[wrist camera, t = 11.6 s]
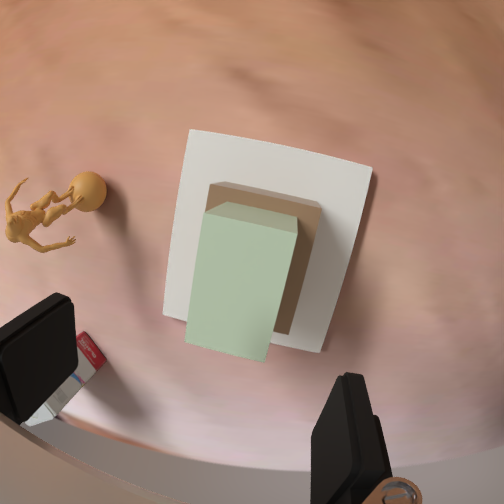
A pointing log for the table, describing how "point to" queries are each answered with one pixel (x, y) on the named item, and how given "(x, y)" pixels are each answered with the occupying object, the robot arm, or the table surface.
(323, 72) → the table surface
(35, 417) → the ink box
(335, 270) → the plate
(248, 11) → the table surface
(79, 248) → the table surface
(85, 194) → the figurine
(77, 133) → the table surface
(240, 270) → the green brick
